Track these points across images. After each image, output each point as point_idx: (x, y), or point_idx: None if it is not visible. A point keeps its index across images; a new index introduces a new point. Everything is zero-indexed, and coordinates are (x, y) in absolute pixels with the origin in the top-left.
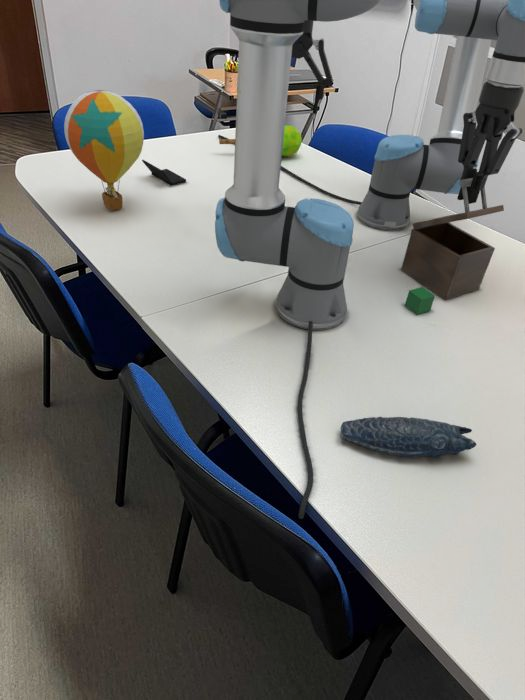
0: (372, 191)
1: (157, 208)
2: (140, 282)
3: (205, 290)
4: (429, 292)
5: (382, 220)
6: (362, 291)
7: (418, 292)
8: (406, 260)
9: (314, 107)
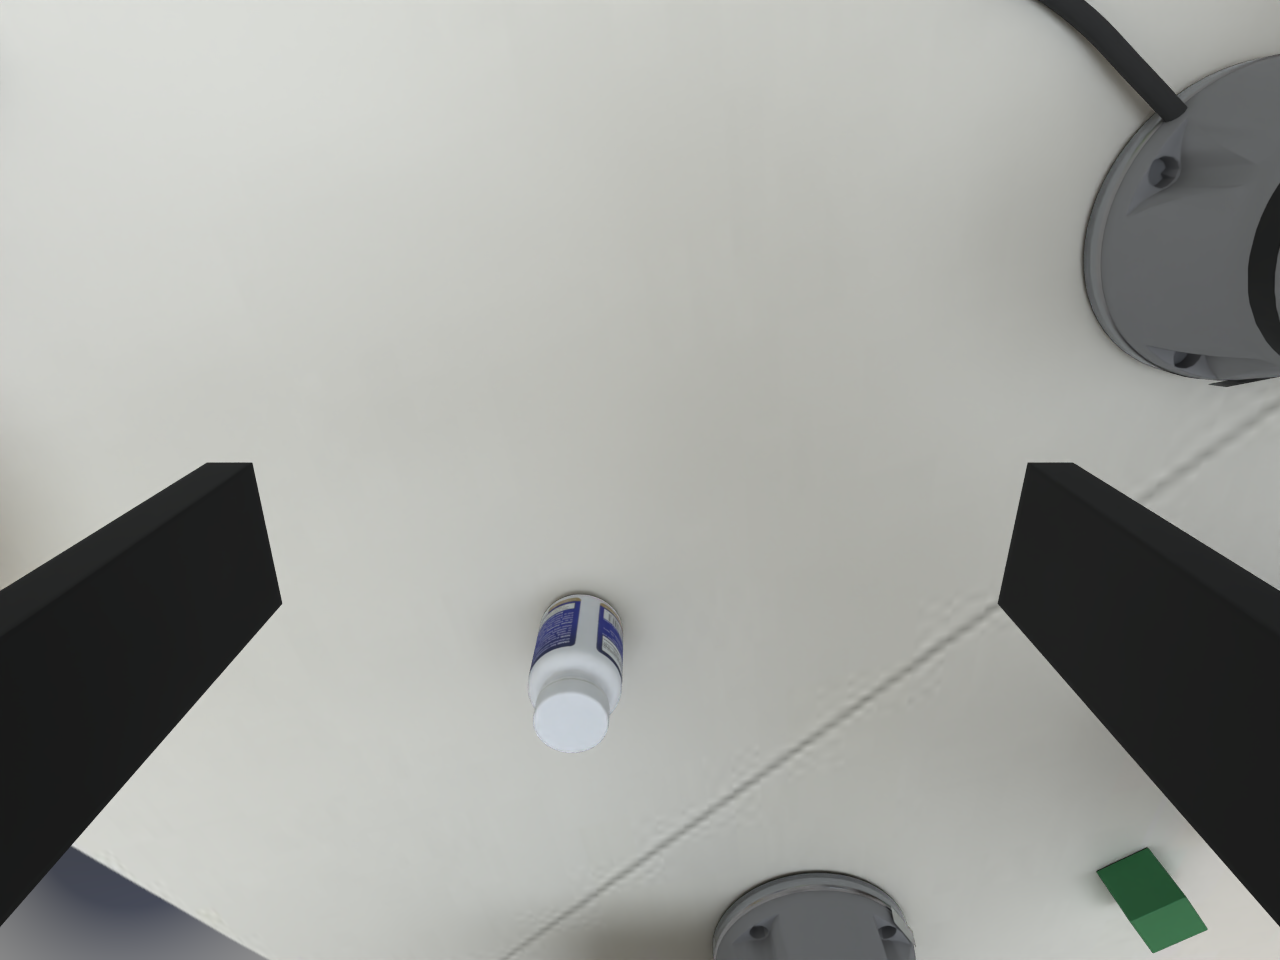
0: (1260, 314)
1: (60, 462)
2: (317, 930)
3: (505, 924)
4: (1196, 919)
5: (1216, 375)
6: (976, 836)
7: (1158, 925)
8: None
9: (1052, 654)
